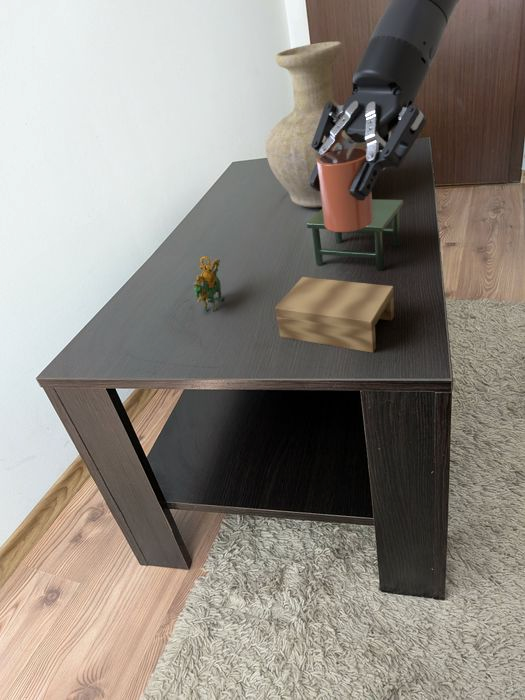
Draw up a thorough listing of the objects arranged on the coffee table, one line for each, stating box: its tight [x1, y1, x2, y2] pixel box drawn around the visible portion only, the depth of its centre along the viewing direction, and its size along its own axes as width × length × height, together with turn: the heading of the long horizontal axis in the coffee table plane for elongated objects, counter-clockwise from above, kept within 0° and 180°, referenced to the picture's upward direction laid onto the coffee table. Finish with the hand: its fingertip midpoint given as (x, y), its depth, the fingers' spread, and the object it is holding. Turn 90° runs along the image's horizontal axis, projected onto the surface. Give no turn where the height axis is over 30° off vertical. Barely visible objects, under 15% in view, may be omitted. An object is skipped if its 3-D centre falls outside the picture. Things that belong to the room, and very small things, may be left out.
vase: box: [265, 40, 367, 208], centre depth 106 cm, size 22×22×30 cm
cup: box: [317, 148, 373, 233], centre depth 61 cm, size 6×6×8 cm
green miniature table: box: [306, 198, 404, 272], centre depth 88 cm, size 13×11×8 cm
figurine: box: [193, 256, 223, 312], centre depth 84 cm, size 3×12×8 cm, turn 167°
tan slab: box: [274, 276, 395, 354], centre depth 72 cm, size 14×9×5 cm, turn 61°
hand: (335, 192), depth 60 cm, fingers closed on cup, 6 cm apart
